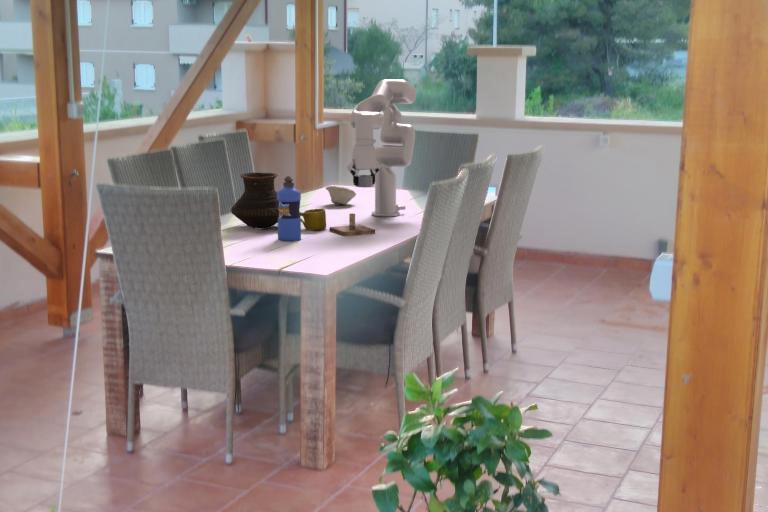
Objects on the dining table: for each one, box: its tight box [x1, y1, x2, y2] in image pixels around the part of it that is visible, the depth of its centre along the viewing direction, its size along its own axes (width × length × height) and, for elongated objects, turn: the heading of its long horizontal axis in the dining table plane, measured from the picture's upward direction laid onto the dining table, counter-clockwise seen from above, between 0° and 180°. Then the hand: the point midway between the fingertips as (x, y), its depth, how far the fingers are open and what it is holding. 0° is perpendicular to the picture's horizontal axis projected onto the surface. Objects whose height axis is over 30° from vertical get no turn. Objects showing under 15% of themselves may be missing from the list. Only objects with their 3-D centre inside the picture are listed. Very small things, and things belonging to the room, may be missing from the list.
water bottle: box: [276, 175, 302, 243], centre depth 410 cm, size 9×9×25 cm
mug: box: [300, 208, 327, 232], centre depth 436 cm, size 12×10×10 cm
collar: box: [354, 174, 374, 188], centre depth 442 cm, size 7×7×4 cm
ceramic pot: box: [230, 171, 279, 229], centre depth 438 cm, size 24×24×22 cm
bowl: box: [325, 185, 357, 206], centre depth 503 cm, size 15×14×10 cm
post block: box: [329, 213, 376, 237], centre depth 429 cm, size 14×14×8 cm
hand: (364, 184), depth 442 cm, fingers closed on collar, 7 cm apart
